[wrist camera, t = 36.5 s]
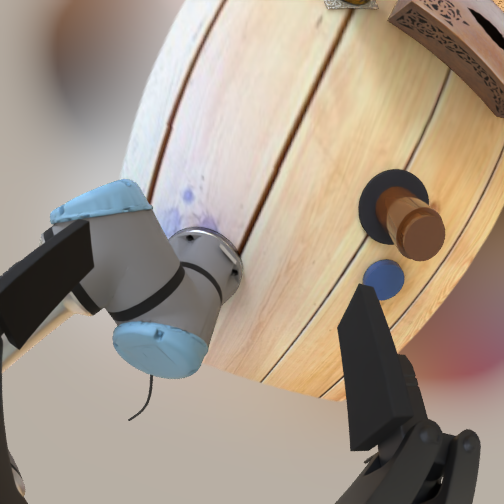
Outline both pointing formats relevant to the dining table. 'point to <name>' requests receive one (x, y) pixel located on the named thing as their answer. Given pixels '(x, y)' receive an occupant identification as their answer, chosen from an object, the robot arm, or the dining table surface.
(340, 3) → the condiment
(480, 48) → the tissue box cover
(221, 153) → the dining table surface
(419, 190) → the coaster
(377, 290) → the lid
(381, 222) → the jar
